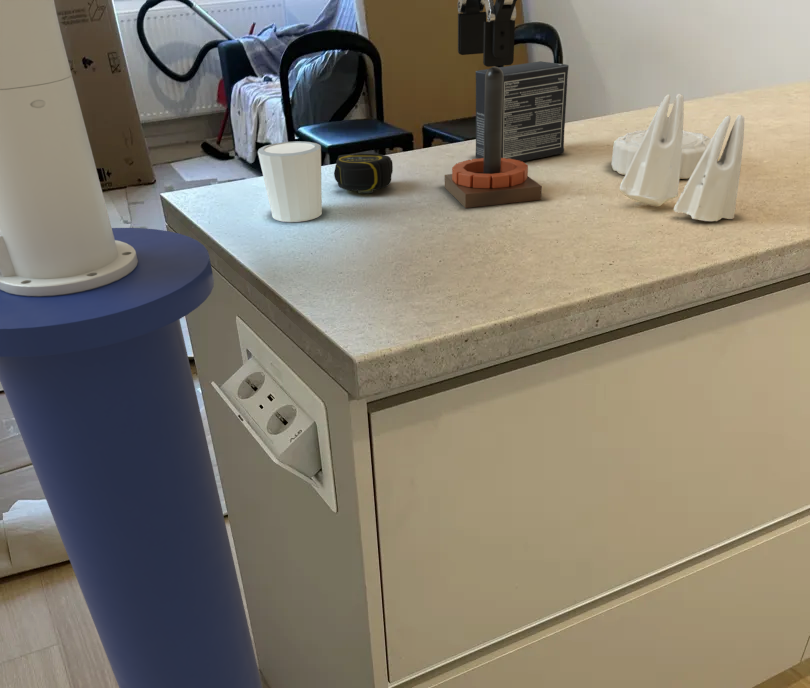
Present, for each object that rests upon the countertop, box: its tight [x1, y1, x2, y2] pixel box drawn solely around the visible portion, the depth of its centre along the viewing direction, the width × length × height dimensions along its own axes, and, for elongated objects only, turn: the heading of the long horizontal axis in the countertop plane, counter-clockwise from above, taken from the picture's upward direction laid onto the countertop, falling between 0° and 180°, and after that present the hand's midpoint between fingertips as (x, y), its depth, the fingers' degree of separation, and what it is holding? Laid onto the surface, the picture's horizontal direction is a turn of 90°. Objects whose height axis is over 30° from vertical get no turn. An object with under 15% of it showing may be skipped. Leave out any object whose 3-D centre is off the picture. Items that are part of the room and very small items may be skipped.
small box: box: [475, 60, 570, 162], centre depth 105 cm, size 11×6×10 cm, turn 118°
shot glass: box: [257, 140, 323, 223], centre depth 89 cm, size 7×7×7 cm
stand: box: [444, 66, 543, 209], centre depth 90 cm, size 9×9×13 cm
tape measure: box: [333, 153, 394, 194], centre depth 97 cm, size 7×7×4 cm
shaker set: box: [619, 93, 745, 222], centre depth 82 cm, size 12×4×11 cm, turn 47°
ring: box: [451, 158, 529, 189], centre depth 94 cm, size 9×9×1 cm
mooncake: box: [610, 129, 712, 180], centre depth 99 cm, size 12×12×4 cm
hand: (484, 59), depth 89 cm, fingers open, 9 cm apart
